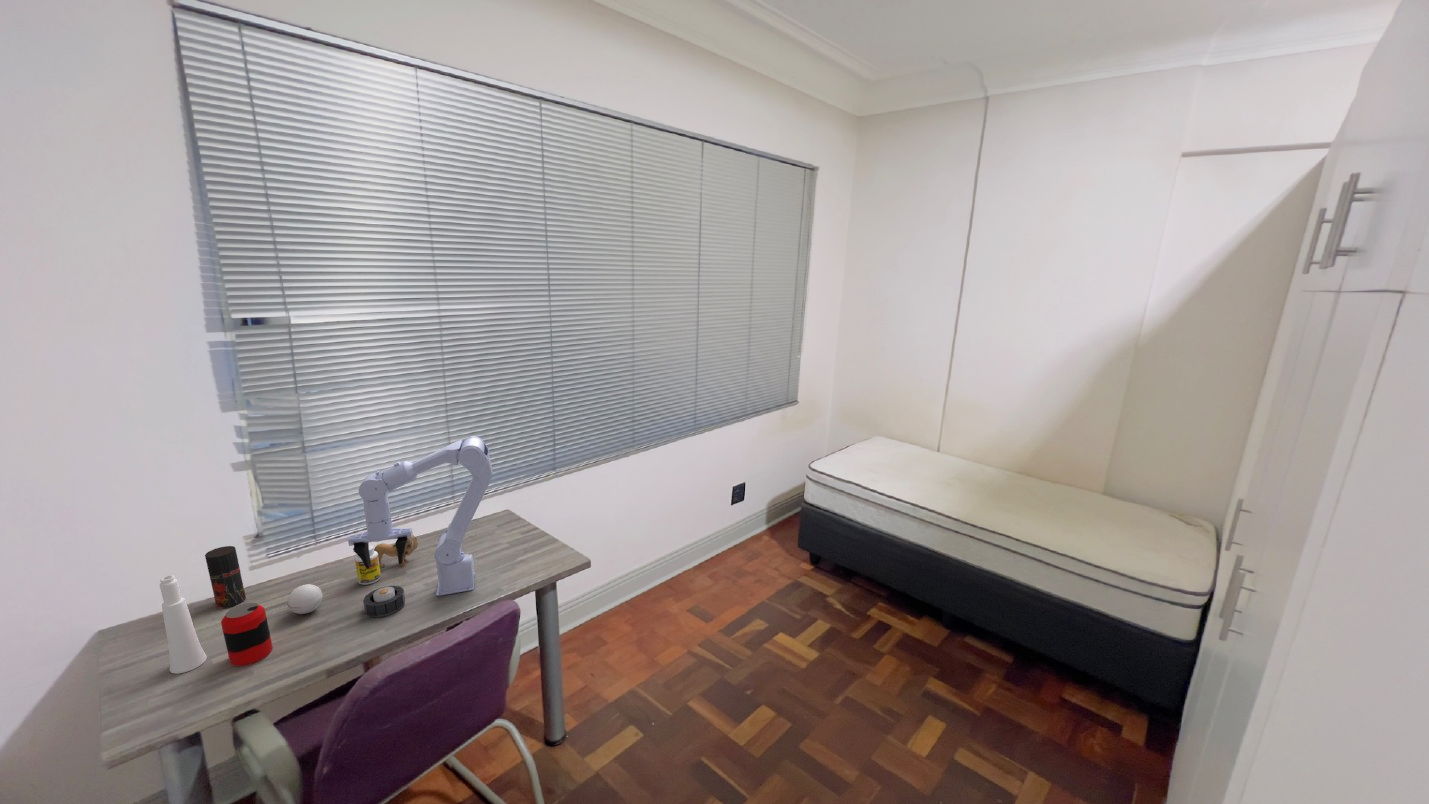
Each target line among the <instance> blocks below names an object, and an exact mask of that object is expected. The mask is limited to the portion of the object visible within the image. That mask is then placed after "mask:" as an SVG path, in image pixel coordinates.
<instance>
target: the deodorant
mask: <svg viewBox="0 0 1429 804" xmlns="http://www.w3.org/2000/svg"><path fill="white" fill-rule="evenodd" d="M236 549H237V548H236V547H235V546H233V545H226V546H221V547H215V548H213V549H211V550H209V551H207V552H206V553H205V555H204V557H205V561H206V567H207V570H208V575H209V580H210V585H211V588H212V592H213V597H214V601H215V606H216V608H217V609H219V610H223V609H231V608H234V607H236V606H239V605H241V604H242V603H243V602H244V601H245V600H246V599H247V596H246V592H245V588H244V582H243V578H242V574H241V573H242V572H241V568H240V564H239V559H238V554H237V550H236Z"/></svg>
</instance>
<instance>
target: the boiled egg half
mask: <svg viewBox="0 0 1429 804" xmlns="http://www.w3.org/2000/svg"><path fill="white" fill-rule="evenodd" d="M383 587H384V588H383ZM383 587H382V588H381V587H380V588H381V589H379V588H377V589H378V590H377V591H375V592H374V594H373V597H374V602H377V603H378V602H384V601H387V600H390V599H392V598H393V597H395V590H394V588H393V587H386V586H383Z"/></svg>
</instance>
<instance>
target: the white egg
mask: <svg viewBox="0 0 1429 804" xmlns="http://www.w3.org/2000/svg"><path fill="white" fill-rule="evenodd" d="M323 598H324V597H323V592H322V589H321V588H320V587H318V586H317V585H315V584H310V583H307V584H303V585H300V586H297V587H296V588H295V589H293V590H292V591H291V592H290V594H289V596H288V598H287V604H284V605H283V606H281V607H279V608H278V610H279V609H281V608H283V607H286V605H287V607H288V608H289V610H290V611H292V612H293V613H295V614H299V615H305V614H309V613H311V612H314V611H315V610H317V608H318V607H320V605H321V603H322V601H323Z"/></svg>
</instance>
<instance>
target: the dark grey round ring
mask: <svg viewBox="0 0 1429 804" xmlns="http://www.w3.org/2000/svg"><path fill="white" fill-rule="evenodd" d="M384 587H393V588H394V590H395V597H393V598H392V599H390V600H387V601H384V602H378V603H377V602H374V597H373V594H374V592H375V591H377V590H378V589H381V588H384ZM362 603H363V609H364V613H365V615H366V616H367V617H369V618H372V619H378V618H379V619H380V618H385V617H388V616H391V615H394V614H395V613H397V612H398V611H400V610H402V609H403V608H404V606H405V605H406V604H405V603H406V597H405V590H404V588H402V586H399V585H387V586H382V587H378V588H376V589H374V590H372V591H370V592H369V593H367V594H366V595H365V596H364V598H363V601H362Z"/></svg>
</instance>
